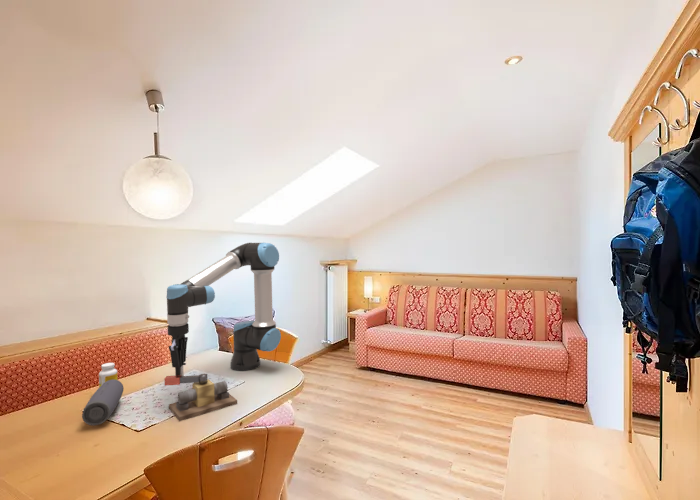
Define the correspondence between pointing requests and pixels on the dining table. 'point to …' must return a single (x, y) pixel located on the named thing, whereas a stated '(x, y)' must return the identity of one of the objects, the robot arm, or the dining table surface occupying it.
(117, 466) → the dining table surface
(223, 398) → the valve
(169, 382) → the lever
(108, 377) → the supplement bottle
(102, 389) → the bluetooth speaker
